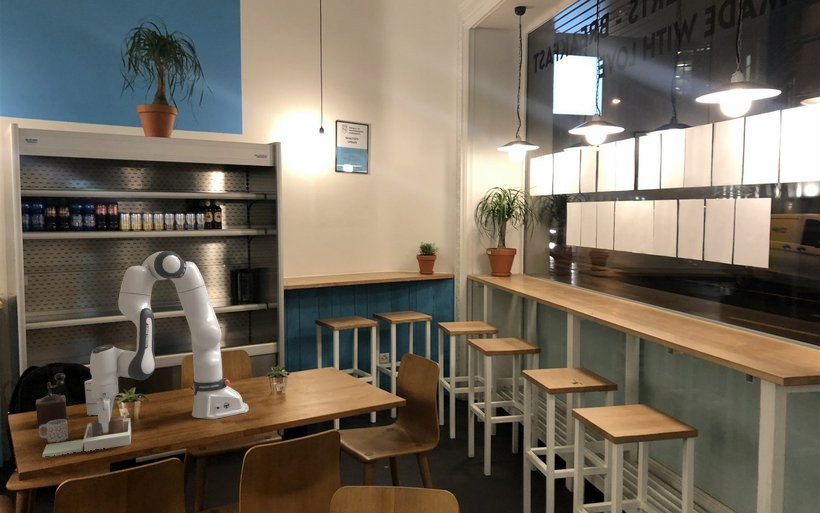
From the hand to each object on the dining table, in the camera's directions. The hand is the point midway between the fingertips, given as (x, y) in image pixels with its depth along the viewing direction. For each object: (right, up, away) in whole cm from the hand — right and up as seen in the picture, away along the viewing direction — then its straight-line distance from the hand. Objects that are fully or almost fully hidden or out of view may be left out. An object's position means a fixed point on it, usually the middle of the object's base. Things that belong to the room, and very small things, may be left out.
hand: (106, 428), depth 224 cm
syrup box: (-21, -4, +34) cm, 40 cm away
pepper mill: (-35, -5, +26) cm, 44 cm away
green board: (-11, -6, -7) cm, 15 cm away
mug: (-22, -6, +4) cm, 23 cm away
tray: (+1, -5, 0) cm, 5 cm away
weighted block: (+1, -5, 0) cm, 5 cm away
